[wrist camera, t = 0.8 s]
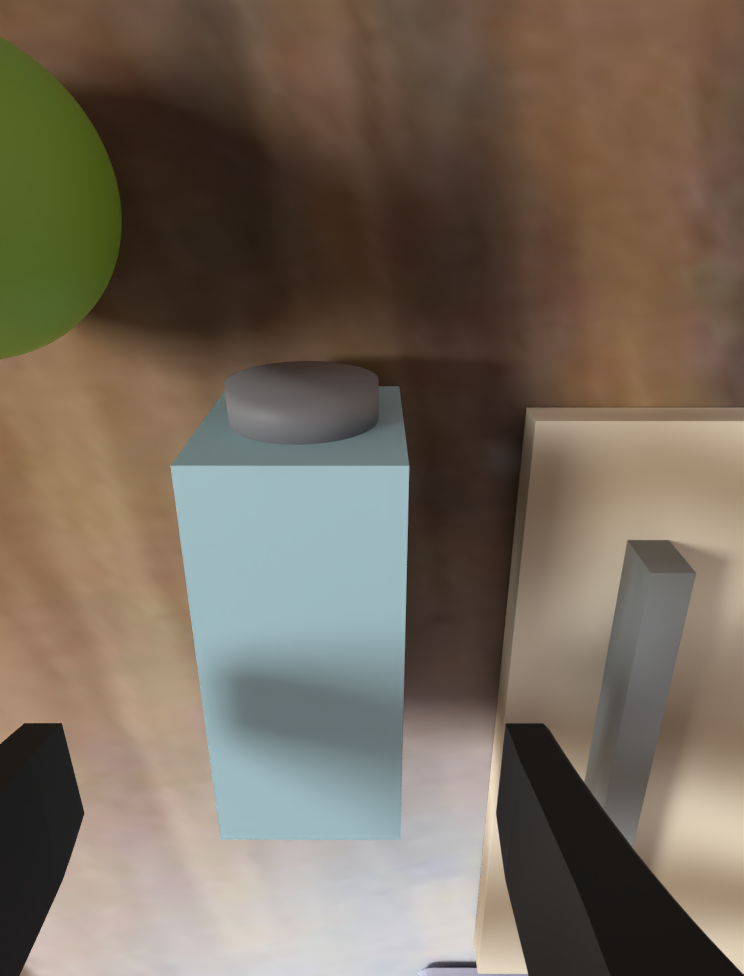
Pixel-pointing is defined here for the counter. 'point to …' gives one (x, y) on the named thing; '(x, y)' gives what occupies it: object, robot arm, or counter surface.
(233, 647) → the pale blue tall carton
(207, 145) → the counter surface
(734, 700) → the jig board
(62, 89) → the snail figurine
